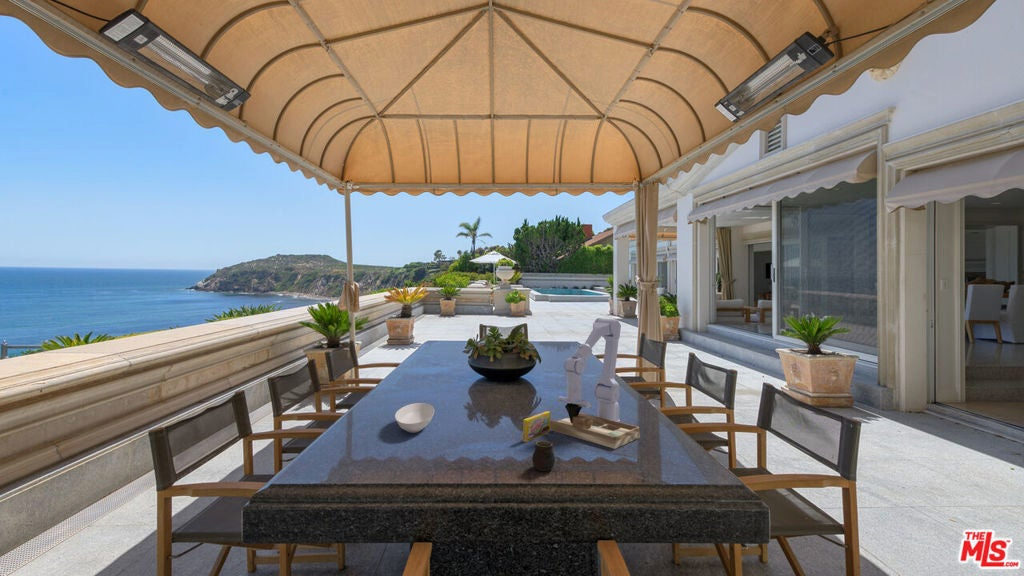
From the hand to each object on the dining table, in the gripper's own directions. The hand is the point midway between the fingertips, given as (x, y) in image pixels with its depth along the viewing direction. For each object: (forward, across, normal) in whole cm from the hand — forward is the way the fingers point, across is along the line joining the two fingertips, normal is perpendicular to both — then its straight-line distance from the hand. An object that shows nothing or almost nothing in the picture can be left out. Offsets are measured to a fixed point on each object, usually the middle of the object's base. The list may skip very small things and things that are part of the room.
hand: (573, 422), depth 183 cm
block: (+1, +4, 0) cm, 4 cm away
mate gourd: (+4, +16, -37) cm, 40 cm away
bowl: (+4, -47, -42) cm, 63 cm away
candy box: (+4, -6, -15) cm, 17 cm away
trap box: (+3, +7, +4) cm, 9 cm away
